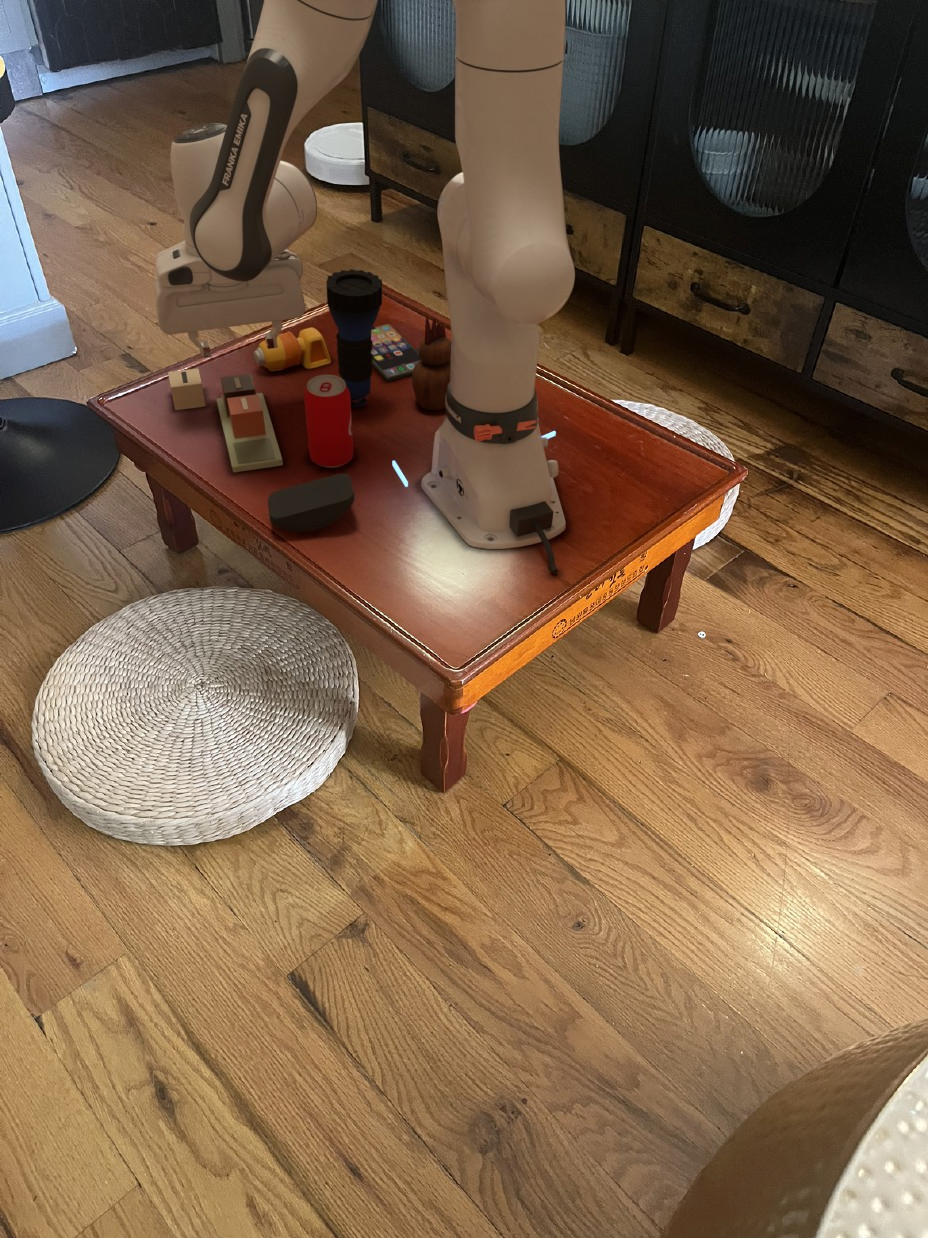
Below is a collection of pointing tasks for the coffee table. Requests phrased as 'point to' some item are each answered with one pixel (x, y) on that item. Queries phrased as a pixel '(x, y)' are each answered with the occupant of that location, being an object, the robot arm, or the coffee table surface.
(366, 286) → the flashlight
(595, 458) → the coffee table surface
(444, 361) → the wooden figurine
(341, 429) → the beverage can
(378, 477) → the coffee table surface
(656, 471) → the coffee table surface
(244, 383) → the brown box with stripe
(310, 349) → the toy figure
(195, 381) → the letter i block
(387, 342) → the smartphone
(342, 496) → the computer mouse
